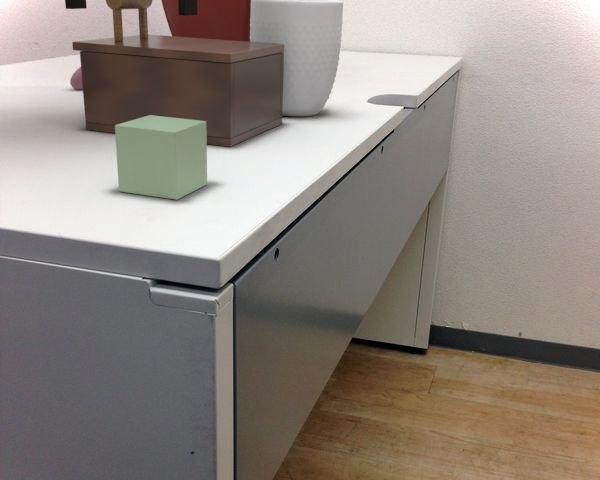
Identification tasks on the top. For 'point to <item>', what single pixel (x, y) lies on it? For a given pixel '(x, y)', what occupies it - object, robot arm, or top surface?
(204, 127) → the block
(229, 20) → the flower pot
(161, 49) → the lid
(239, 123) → the chest
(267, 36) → the mug
